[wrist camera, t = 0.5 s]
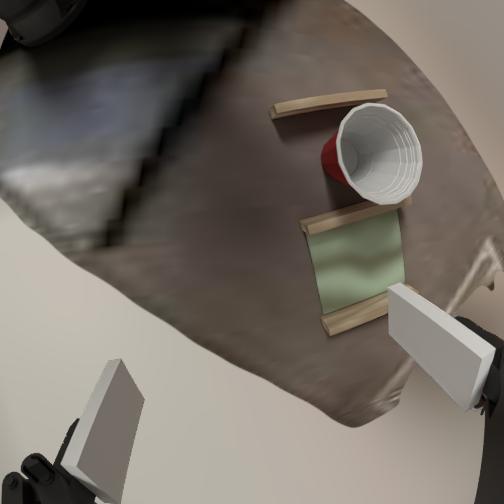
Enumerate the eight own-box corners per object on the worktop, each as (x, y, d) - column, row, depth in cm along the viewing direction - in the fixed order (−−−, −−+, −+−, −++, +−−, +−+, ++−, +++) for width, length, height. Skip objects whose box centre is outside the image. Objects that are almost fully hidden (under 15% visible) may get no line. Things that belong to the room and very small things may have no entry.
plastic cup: (375, 128, 36) (426, 117, 25) (369, 200, 39) (419, 211, 27) (306, 112, 35) (341, 88, 23) (298, 190, 38) (332, 197, 26)
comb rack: (268, 111, 34) (274, 104, 31) (371, 95, 35) (385, 89, 31) (321, 323, 43) (330, 336, 39) (406, 289, 44) (419, 298, 40)
